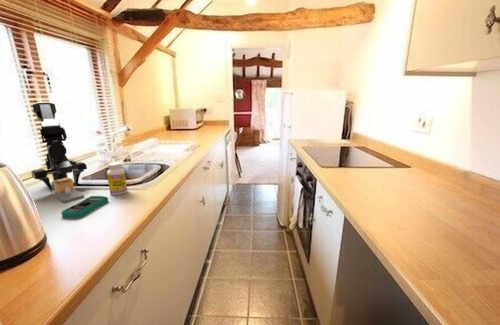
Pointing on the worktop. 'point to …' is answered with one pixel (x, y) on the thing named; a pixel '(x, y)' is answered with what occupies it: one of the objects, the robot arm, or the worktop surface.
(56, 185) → the tan wooden block
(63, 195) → the post board
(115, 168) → the supplement bottle
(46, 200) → the worktop surface
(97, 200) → the digital multimeter
